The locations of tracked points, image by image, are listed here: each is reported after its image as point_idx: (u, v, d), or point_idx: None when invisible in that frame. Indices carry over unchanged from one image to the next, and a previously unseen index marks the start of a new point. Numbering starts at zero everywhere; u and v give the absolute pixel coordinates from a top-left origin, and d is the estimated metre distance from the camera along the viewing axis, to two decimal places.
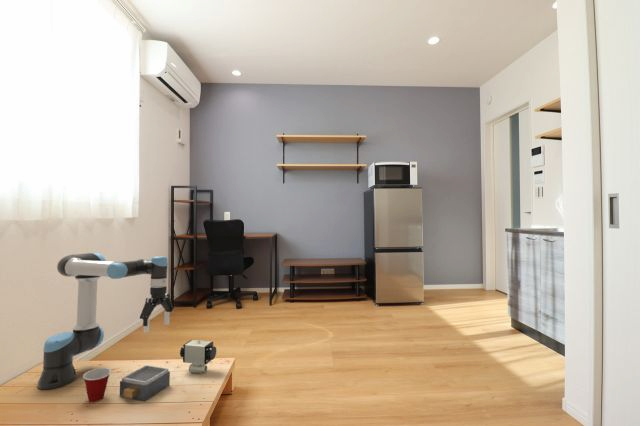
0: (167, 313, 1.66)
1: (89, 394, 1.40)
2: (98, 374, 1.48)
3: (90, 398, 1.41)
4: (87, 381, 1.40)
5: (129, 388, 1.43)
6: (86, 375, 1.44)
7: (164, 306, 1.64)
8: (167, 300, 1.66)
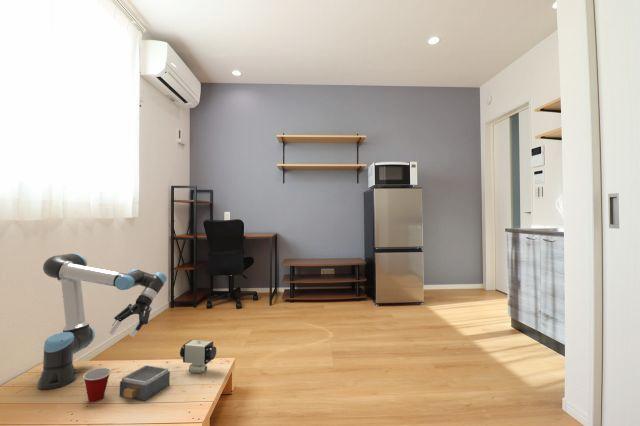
0: (119, 323, 1.62)
1: (89, 394, 1.40)
2: (98, 374, 1.48)
3: (90, 398, 1.41)
4: (87, 381, 1.40)
5: (129, 388, 1.43)
6: (86, 375, 1.44)
7: (126, 316, 1.64)
8: (127, 311, 1.67)
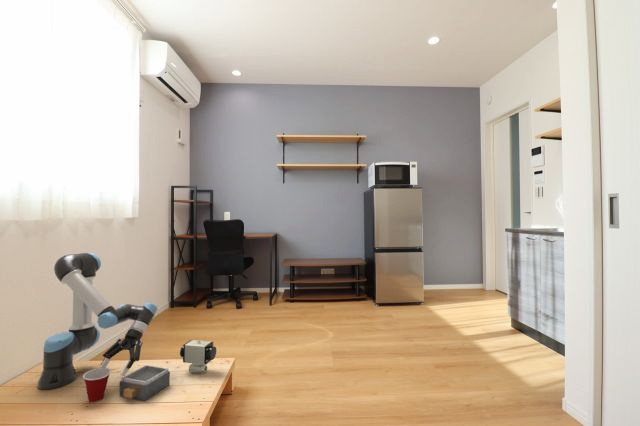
0: (108, 360, 1.54)
1: (89, 394, 1.40)
2: (98, 374, 1.48)
3: (90, 398, 1.41)
4: (87, 381, 1.40)
5: (129, 388, 1.43)
6: (86, 375, 1.44)
7: (115, 352, 1.56)
8: (116, 347, 1.59)
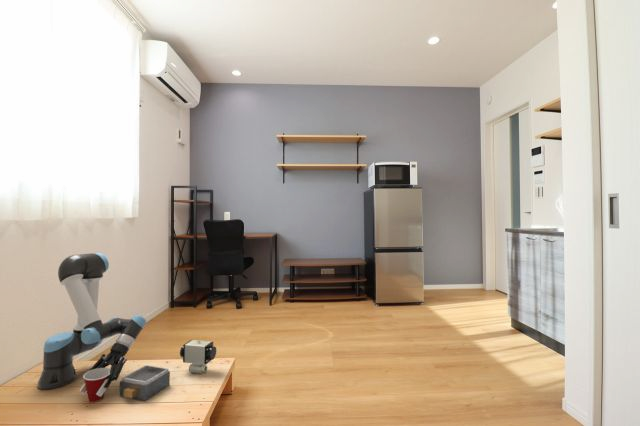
0: None
1: (89, 394, 1.40)
2: (97, 374, 1.48)
3: (90, 398, 1.41)
4: (87, 381, 1.39)
5: (129, 388, 1.43)
6: (86, 375, 1.43)
7: None
8: (101, 362, 1.52)
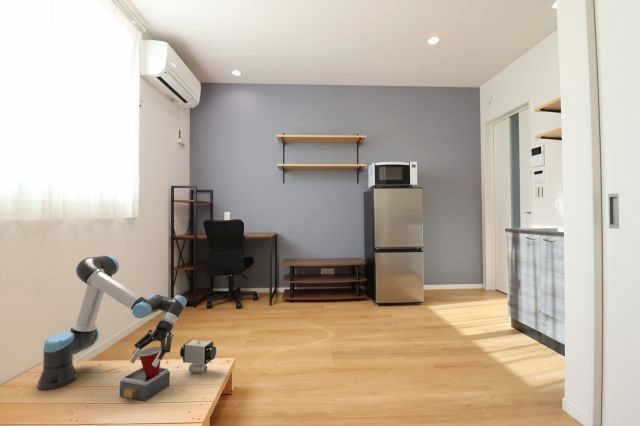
0: None
1: (146, 370, 1.48)
2: (150, 352, 1.56)
3: (147, 373, 1.49)
4: (142, 357, 1.48)
5: (129, 388, 1.43)
6: (140, 354, 1.52)
7: (147, 343, 1.58)
8: (147, 337, 1.60)
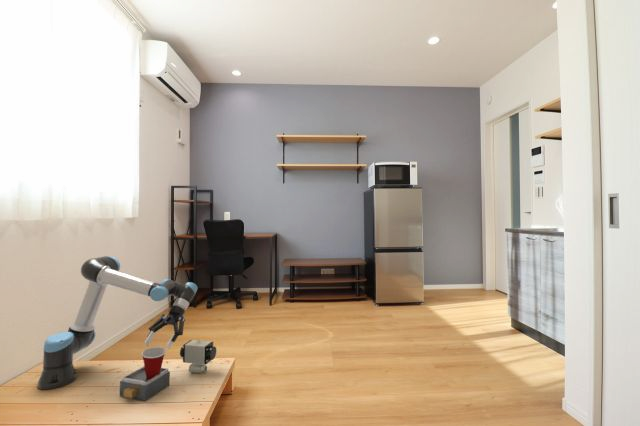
0: (153, 334, 1.63)
1: (147, 371, 1.48)
2: (153, 352, 1.55)
3: (148, 375, 1.48)
4: (146, 359, 1.47)
5: (129, 388, 1.43)
6: (144, 353, 1.51)
7: (160, 326, 1.65)
8: (161, 321, 1.68)
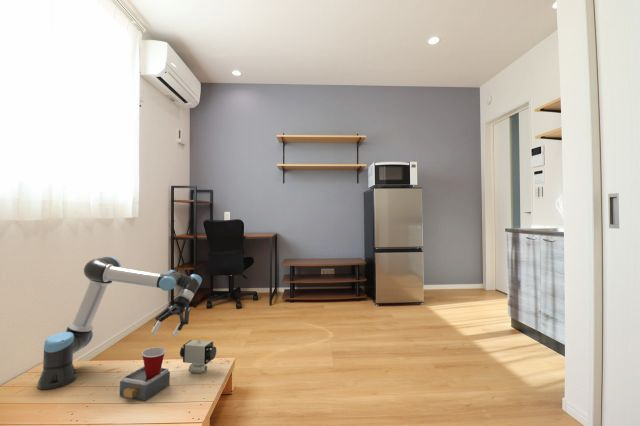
0: (160, 323, 1.68)
1: (147, 371, 1.48)
2: (153, 353, 1.56)
3: (148, 374, 1.49)
4: (146, 358, 1.47)
5: (129, 388, 1.43)
6: (143, 353, 1.52)
7: (166, 316, 1.70)
8: (166, 311, 1.73)
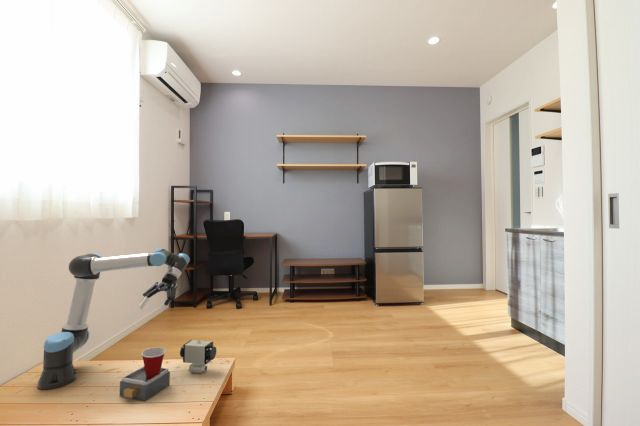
0: (147, 299, 1.73)
1: (147, 371, 1.48)
2: (153, 353, 1.56)
3: (148, 375, 1.49)
4: (145, 358, 1.47)
5: (129, 388, 1.43)
6: (143, 353, 1.52)
7: (154, 292, 1.75)
8: (154, 288, 1.77)
